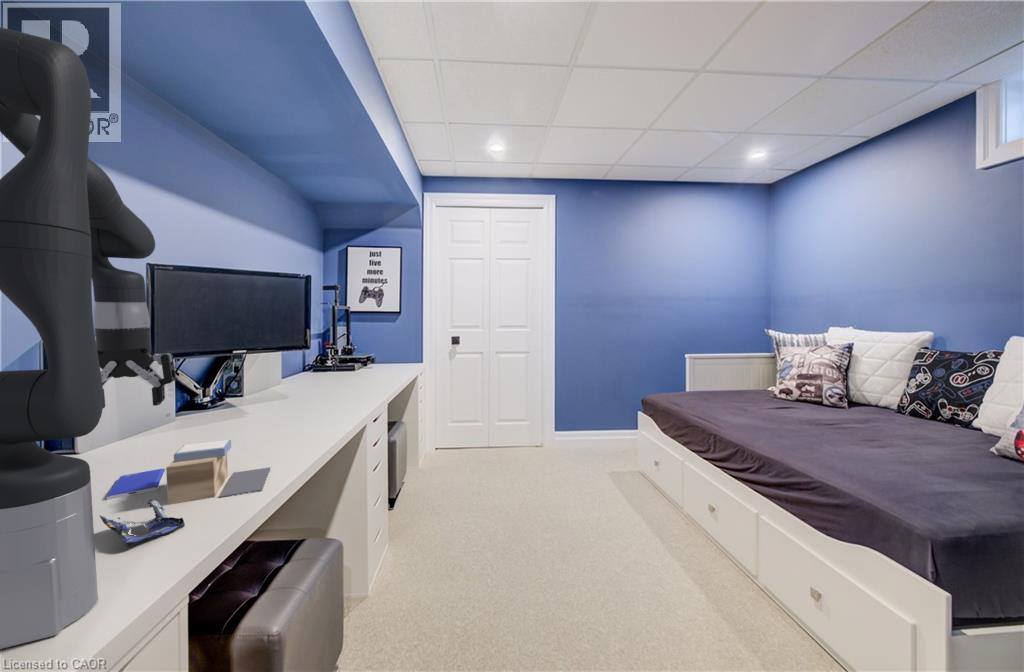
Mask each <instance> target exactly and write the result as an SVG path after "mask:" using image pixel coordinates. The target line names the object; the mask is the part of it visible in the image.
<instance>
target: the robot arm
mask: <svg viewBox="0 0 1024 672" xmlns="http://www.w3.org/2000/svg"><path fill="white" fill-rule="evenodd" d="M91 92H92V91H91V86H90V80H89V77H88V72H87V69H86V67H85V65H84V63H83V61H82V59H81V58H80V56H79V55H78V54H77V53H76V52H75V51H74V50H73V49H72V48H71V47H69V46H67V45H66V44H64V43H62V42H59V41H56V40H52V39H49V38H45V37H42V36H38V35H34V34H29V33H26V32H21V31H18V30H13V29H9V28H6V27H0V133H1V135H3V136H4V137H5V138H6V139H7V140H8V141H9V143H11V144H12V145H13V146H14V147H15V148H16V149H17V150H18V151H19V152H20V154H22V155H23V157H22V158H21V159H20V160H19V162H18V163H17V164H16V165H15V166H13V167H12V168H11V169H10V170H9V171H8V172H6V173H5V174H4V175H3V176H2V177H1V178H0V292H1V293H2V294H3V295H5V297H6V298H8V299H9V301H10V302H11V303H12V304H14V306H16V307H17V309H18V310H19V311H20V312H21V313H22V314H23V315H24V316H25V317H26V318H27V319H28V320H29V321H30V322H31V324H32V326H34V327H35V330H36V331H37V333H38V334H39V336H40V339H41V341H42V344H43V347H44V351H45V355H46V362H47V369H46V368H45V369H43V368H42V369H26V370H25V369H24V370H22V369H20V370H3V371H0V650H2V649H6V648H10V647H14V646H18V645H21V644H26V643H30V642H34V641H37V640H38V641H39V640H41V639H46V638H50V637H53V636H54V637H55V636H57V635H58V634H59V633H60V632H61V631H62V630H63V629H64V628H66V627H68V626H69V625H71V624H73V623H74V622H76V621H77V620H79V619H80V618H81V617H84V616H85V615H86V614H87V613H89V612H90V611H91V609H93V607H95V605H96V604H97V602H98V599H99V597H98V578H97V577H98V575H97V565H96V564H97V563H96V545H95V530H94V515H93V513H94V512H93V499H92V498H93V495H92V481H91V480H92V479H91V468H90V464H89V463H88V462H87V461H86V460H85V459H83V458H78V457H74V456H69V455H63V454H58V453H55V452H52V451H50V450H47V449H45V448H43V447H41V446H40V445H39V444H38V443H37V442H43V441H55V440H56V441H57V440H58V441H59V440H66V439H73V438H80V437H84V436H87V435H88V434H90V433H92V432H93V430H95V429H96V428H97V426H98V424H99V423H100V420H101V418H102V414H103V409H105V407H106V396H105V389H104V387H103V386H104V385H106V384H107V382H108V381H109V380H111V378H114V379H120V378H124V377H127V378H136V377H138V376H139V377H141V378H142V379H143V380H145V381H146V382H148V383H149V384H150V385H151V386H153V387H151V397H152V406H153V407H154V406H155V407H156V406H159V405H161V404H162V403H163V402H164V401H165V398H166V396H165V395H166V394H165V393H166V392H165V386H166V385H167V384H168V385H170V384H171V383H172V382H175V381H176V379H177V375H176V374H177V373H176V369H175V361H174V355H173V354H172V353H171V352H167V353H164V354H163V353H162V354H161V353H160V354H154V353H153V351H152V339H151V338H152V337H151V336H152V335H151V319H150V314H149V313H150V312H149V309H148V305H147V296H146V295H147V294H146V283H145V277H144V276H143V275H142V274H141V273H139V272H136V271H131V270H125V269H120V268H117V267H115V266H114V265H113V264H112V263H111V262H110V260H109V258H110V259H111V258H113V259H131V260H132V259H133V260H139V259H141V260H142V259H146V258H148V257H150V256H151V255H152V254H153V253H154V252H155V249H156V241H155V240H156V239H155V238H154V237H155V236H154V235H153V233H152V231H151V230H150V228H149V227H148V226H147V224H146V223H145V222H144V221H143V220H142V219H140V217H138V215H136V214H135V213H134V212H133V210H131V209H130V208H129V207H128V206H127V205H126V204H125V203H124V201H123V200H122V197H121V196H120V194H119V192H118V190H117V189H116V186H115V184H114V183H113V181H112V180H111V178H110V177H109V175H108V174H107V173H106V171H105V170H103V169H102V168H101V167H100V166H99V165H98V164H97V163H96V162H94V161H93V160H92V159H91V158H90V157H89V144H90V130H91V116H92V115H91V113H92V111H91V110H92V95H91ZM37 116H38V117H39V118H38V117H37ZM92 287H93V292H92ZM92 293H93V296H92ZM93 298H94V300H93ZM93 301H94V307H93ZM154 361H156V362H157V364H158V365H160V366H161V368H162V376H163V377H162V376H160V374H158V372H157V370H155V369H154V368H153V367H152V366H151V365H152V364H153V363H154Z"/></svg>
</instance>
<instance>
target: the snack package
mask: <svg viewBox="0 0 1024 672" xmlns="http://www.w3.org/2000/svg"><path fill="white" fill-rule="evenodd" d="M141 503H142V504H144V502H143V501H142V502H141ZM147 504H148V505H149V508H151V507H152V510H153V511H154V516H155V517H154V518H151V519H150V520H149V519H148V520H143V521H138V522H136V521H130V520H122V521H116V520H114V519H109V518H107V517H105V516H102V515H101V514H99V515H98V516H99V517H100V519H101V521H102V522H103V524H104V525H105V526H107V528H109V529H110V530H111V531H112V532H114V533H115V534H116V535H118V537H120V538H121V540H122V542H124V543H125V545H126V546H127V547H129V548H131V547H132V546H135V544H138V543H140V542H141V541H143V540H146V539H149V538H156V539H160V538H162V537H165V536H170V534H172V533H174V532H176V531H178V530H179V529H181V528H184V527H185V521H184V518H183V517H179V518H177V517H172V516H169V517H168V516H167V514H166V511H165V510H166V509H165V507H164V506H162V505H161V504H160V502H159V501H157V500H155V499H153V498H151V499H149V501H147ZM132 508H134V506H133V505H132ZM117 519H118V520H121V518H120V517H118V516H117ZM130 523H132V524H133V523H141V524H140V525H142V524H145V526H146V530H145V531H148V532H147V533H146V534H145V535H141V536H134V535H135V534H134V535H129V534H128V532H129V530H130V527H129V526H130V525H128V524H130ZM126 524H127V525H126ZM133 525H134V524H133Z"/></svg>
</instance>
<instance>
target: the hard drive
mask: <svg viewBox="0 0 1024 672" xmlns="http://www.w3.org/2000/svg"><path fill="white" fill-rule="evenodd" d="M165 472H166V469H165V468H158V469H157V468H156V469H153V470H152V469H151V470H146V471H141V472H135V473H130V474H124V475H121V476H119V478H118V479H117V480H116V482H115V483H114V485H113V487H112V488H111V489H110V491H109V492H108V494H107V495H106V501H109V500H114V499H119V498H124V497H130V496H135V495H139V494H143V493H144V494H145V493H149V492H155V491H158V489H159V487H160V484H161V483H162V481H163V478H164V475H165Z"/></svg>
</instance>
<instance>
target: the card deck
mask: <svg viewBox="0 0 1024 672" xmlns="http://www.w3.org/2000/svg"><path fill="white" fill-rule="evenodd" d="M231 449H232V439H225V440H215V441H208V442H207V441H206V442H199V443H198V442H197V443H188V444H184V445H182V447H181V448H179V449H178V450H177V451H176V452H175V453H174V454H173V461H174V463H175V462H183V461H191V460H199V459H206V458H214V457H222V456H225V455H226V454H227V455H228V453H229V451H230V450H231Z"/></svg>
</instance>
